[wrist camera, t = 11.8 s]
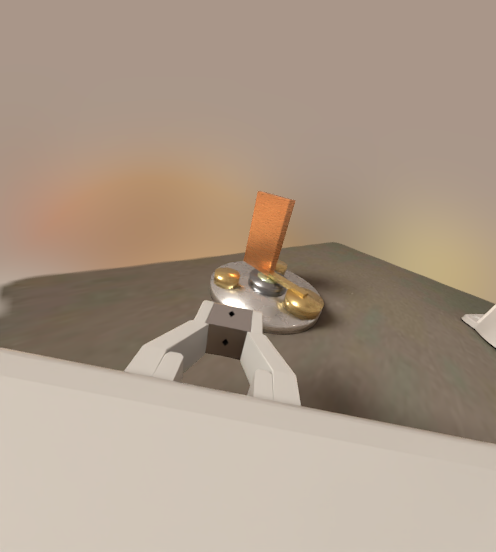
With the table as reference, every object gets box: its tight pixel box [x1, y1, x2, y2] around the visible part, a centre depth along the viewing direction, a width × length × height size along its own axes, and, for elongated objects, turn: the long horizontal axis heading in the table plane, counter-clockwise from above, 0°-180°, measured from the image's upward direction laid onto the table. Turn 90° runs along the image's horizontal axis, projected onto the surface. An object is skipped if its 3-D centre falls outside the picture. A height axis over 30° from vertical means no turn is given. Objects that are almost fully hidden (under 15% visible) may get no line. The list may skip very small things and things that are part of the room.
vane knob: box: [244, 191, 324, 320], centre depth 25 cm, size 14×5×12 cm, turn 41°
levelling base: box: [210, 260, 322, 334], centre depth 29 cm, size 17×17×3 cm
